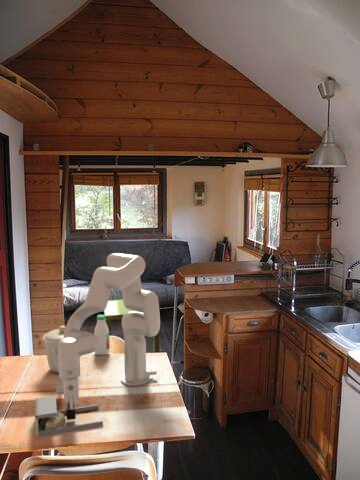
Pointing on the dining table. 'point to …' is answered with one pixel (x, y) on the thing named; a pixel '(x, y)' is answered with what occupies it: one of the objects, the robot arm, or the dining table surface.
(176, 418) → the dining table surface
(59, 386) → the chalice
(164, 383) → the dining table surface
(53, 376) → the dining table surface
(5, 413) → the dining table surface
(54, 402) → the low barrier
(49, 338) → the canister
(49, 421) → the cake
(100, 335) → the milk bottle
